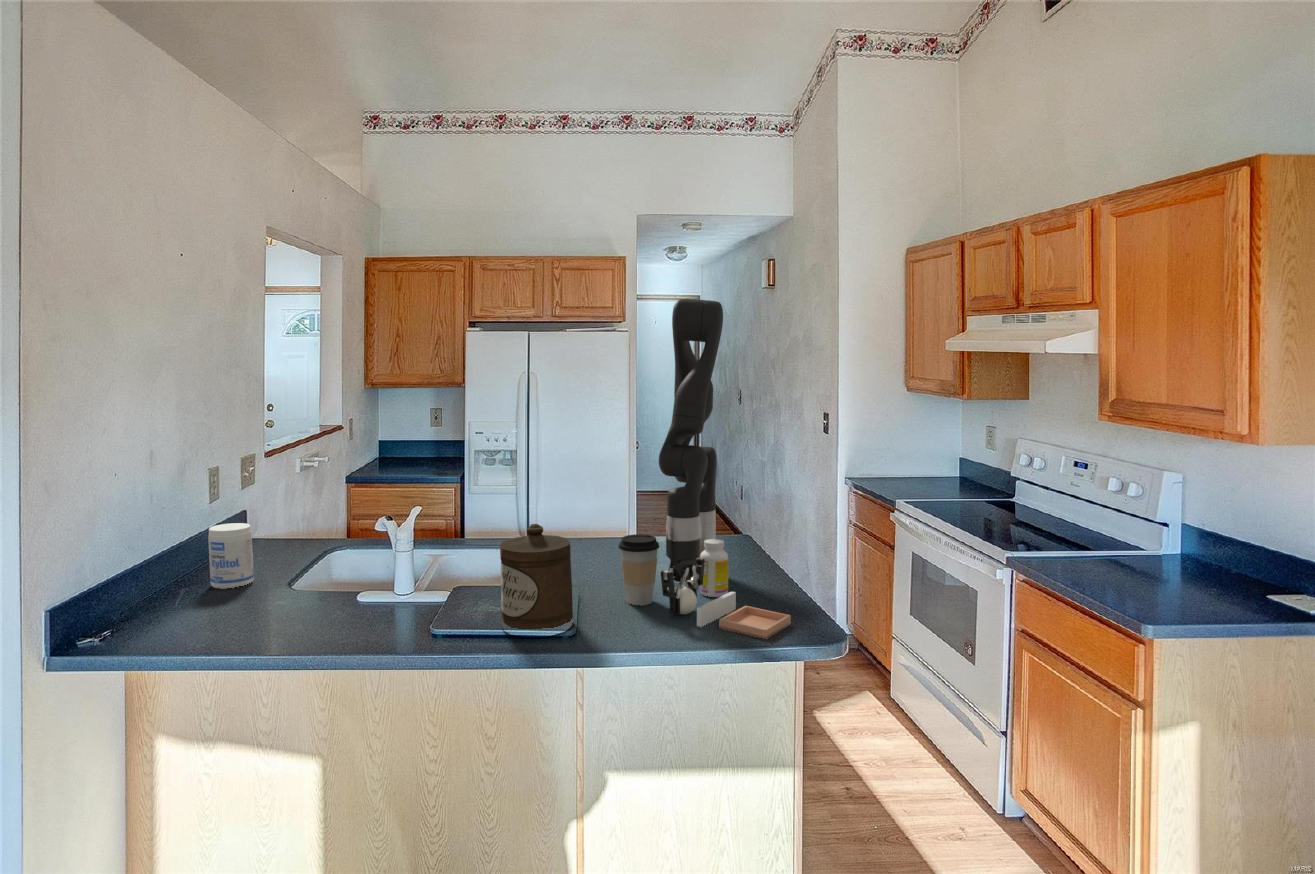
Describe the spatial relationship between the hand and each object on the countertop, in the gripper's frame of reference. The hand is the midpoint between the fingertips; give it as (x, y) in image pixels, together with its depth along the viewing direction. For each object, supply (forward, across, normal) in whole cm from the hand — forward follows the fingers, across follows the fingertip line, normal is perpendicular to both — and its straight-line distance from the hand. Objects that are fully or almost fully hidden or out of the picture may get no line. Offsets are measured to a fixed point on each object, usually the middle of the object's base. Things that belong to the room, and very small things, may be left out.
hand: (683, 609), depth 179 cm
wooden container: (+1, +24, -21) cm, 32 cm away
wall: (+1, -2, +8) cm, 8 cm away
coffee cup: (+1, -1, -13) cm, 13 cm away
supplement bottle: (+1, -16, -2) cm, 16 cm away
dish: (+1, -2, +17) cm, 17 cm away
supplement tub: (+1, +47, -104) cm, 114 cm away
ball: (+1, 0, 0) cm, 1 cm away
